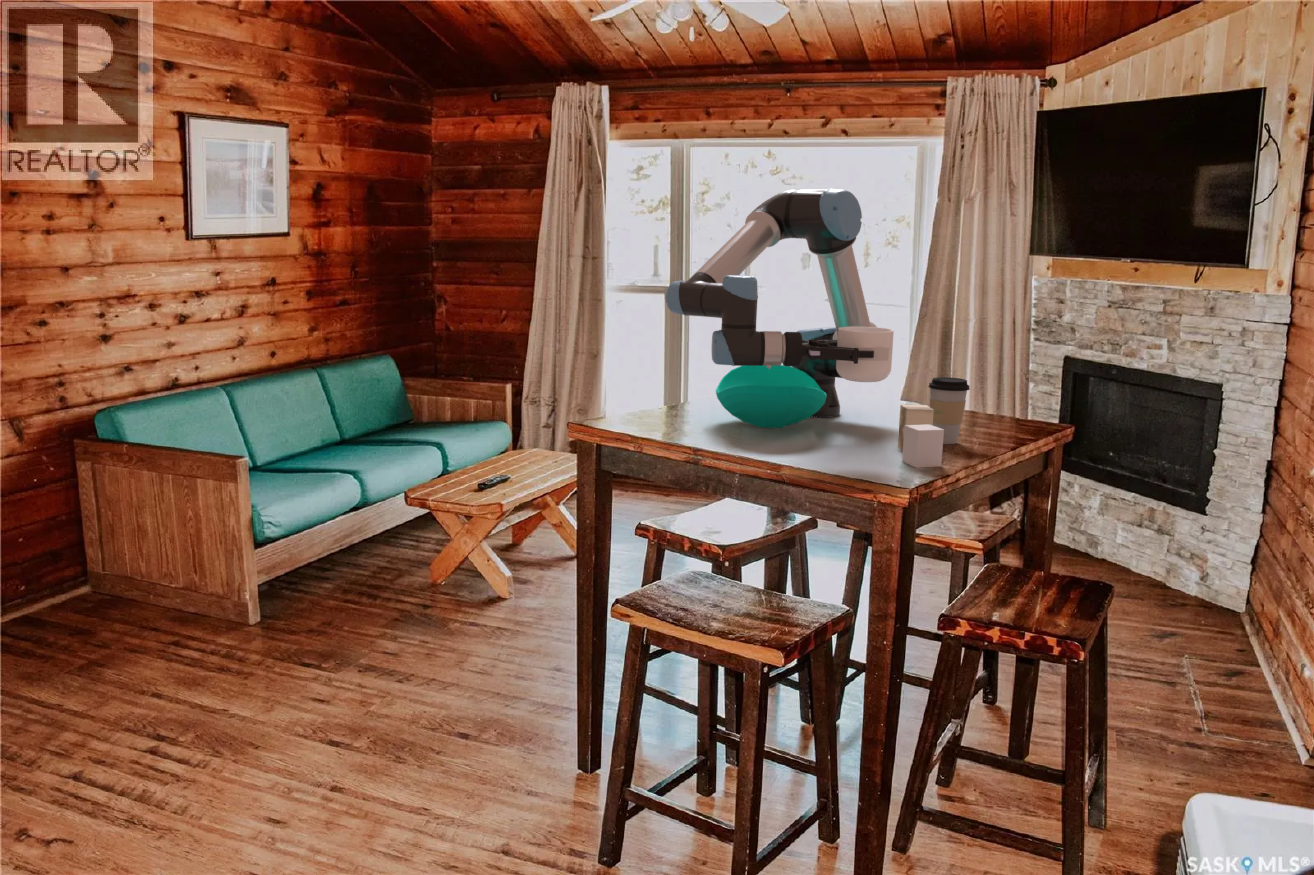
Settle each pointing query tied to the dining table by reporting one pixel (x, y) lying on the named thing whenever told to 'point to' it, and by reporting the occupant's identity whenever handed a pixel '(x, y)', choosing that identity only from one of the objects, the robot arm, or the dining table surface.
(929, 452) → the pale pink block
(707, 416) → the dining table surface
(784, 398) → the table top decor
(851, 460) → the dining table surface
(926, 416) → the birch block
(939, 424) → the coffee cup
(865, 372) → the handleless ceramic cup
